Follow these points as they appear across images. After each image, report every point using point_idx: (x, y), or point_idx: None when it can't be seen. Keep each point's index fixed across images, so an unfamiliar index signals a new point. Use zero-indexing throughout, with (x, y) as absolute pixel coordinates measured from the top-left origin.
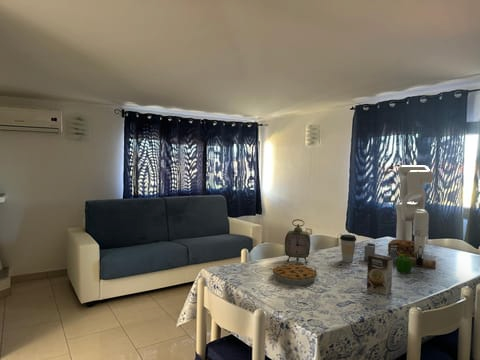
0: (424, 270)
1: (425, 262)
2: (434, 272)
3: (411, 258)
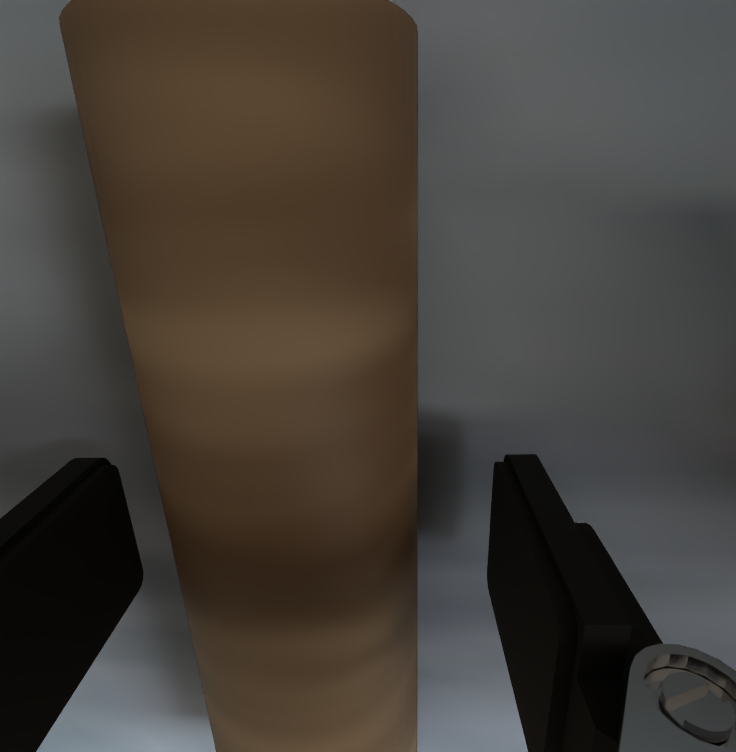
0: None
1: (205, 698)
2: None
3: (175, 379)
